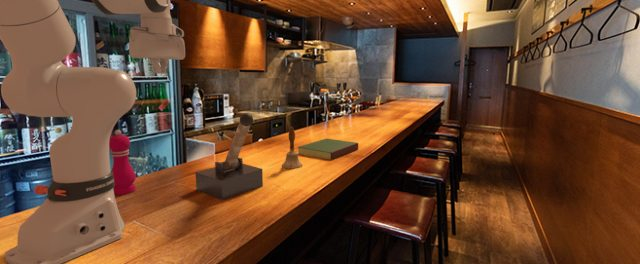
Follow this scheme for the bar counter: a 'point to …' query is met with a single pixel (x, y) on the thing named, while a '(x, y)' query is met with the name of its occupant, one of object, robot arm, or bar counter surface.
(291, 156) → the hand bell
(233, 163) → the lever
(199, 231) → the bar counter surface
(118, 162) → the pepper mill
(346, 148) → the hardcover book
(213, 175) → the base
